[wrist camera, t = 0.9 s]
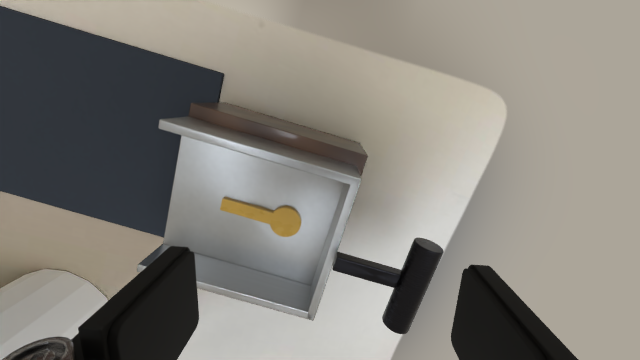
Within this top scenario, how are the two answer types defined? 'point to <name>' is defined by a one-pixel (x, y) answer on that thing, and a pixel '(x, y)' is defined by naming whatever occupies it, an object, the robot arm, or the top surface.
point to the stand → (281, 132)
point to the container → (45, 307)
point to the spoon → (266, 215)
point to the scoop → (258, 238)
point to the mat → (92, 120)
